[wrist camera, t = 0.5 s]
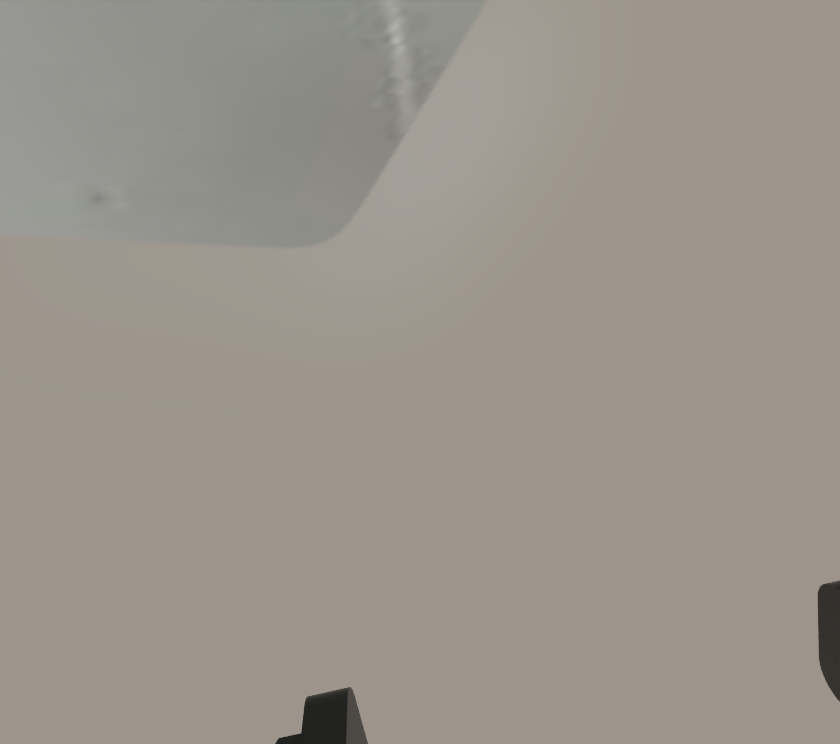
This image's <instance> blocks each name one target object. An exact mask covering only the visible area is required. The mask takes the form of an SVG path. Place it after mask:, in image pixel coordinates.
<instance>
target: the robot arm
mask: <svg viewBox="0 0 840 744" xmlns="http://www.w3.org/2000/svg"><path fill="white" fill-rule="evenodd" d="M818 629H819V661H820V666H821V669H822V672H823V675H824V677H825V680H826V682H827V683H828V686H829V687H830V689H831V691H832V692H833V693H834V695H835V696H836V698H837V699H838V700H839V701H840V581H836V582H832V583H827V584H823V585H822V586H821V587H820V589H819V591H818ZM276 744H368V743H367V739H366V736H365V732H364V729H363V725H362V721H361V718H360V714H359V710H358V706H357V703H356V699H355V696H354V693H353V690H352V689H351V688H350V687H349V688H344V689H340V690H335V691H331V692H326V693H322V694H317V695H313V696H308V697H307V698H306V701H305V706H304V715H303V724H302V733H301V734H296V735H292V736H288V737H283V738H279V739H278V740H277V742H276Z"/></svg>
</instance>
